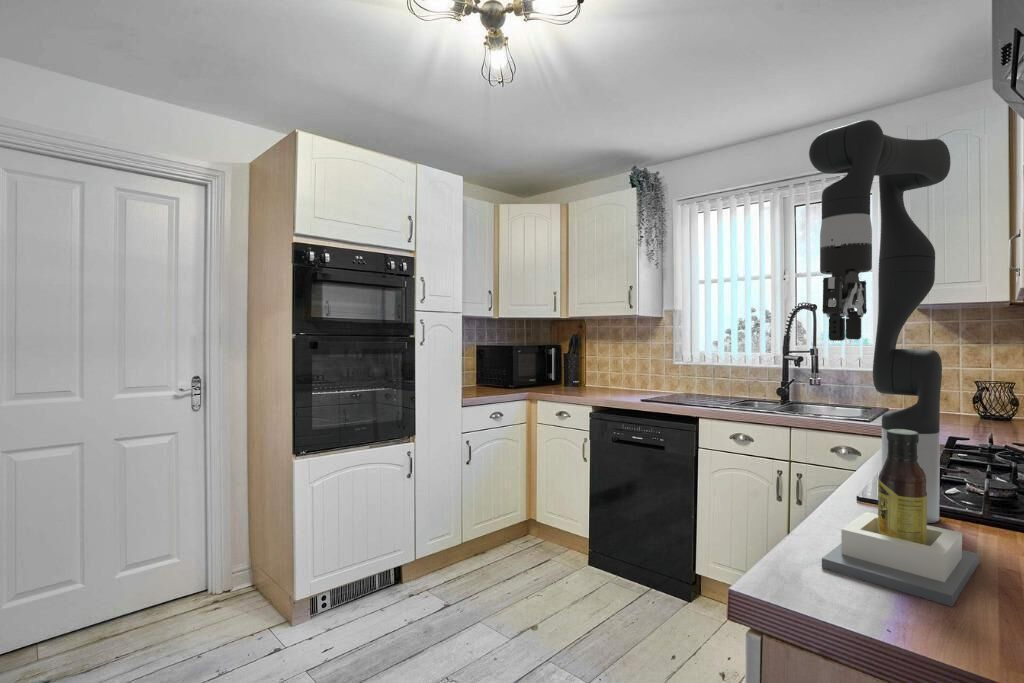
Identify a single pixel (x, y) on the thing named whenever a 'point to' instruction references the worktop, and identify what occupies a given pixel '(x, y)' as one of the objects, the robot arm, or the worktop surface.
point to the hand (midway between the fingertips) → (845, 339)
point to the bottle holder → (904, 560)
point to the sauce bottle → (902, 490)
